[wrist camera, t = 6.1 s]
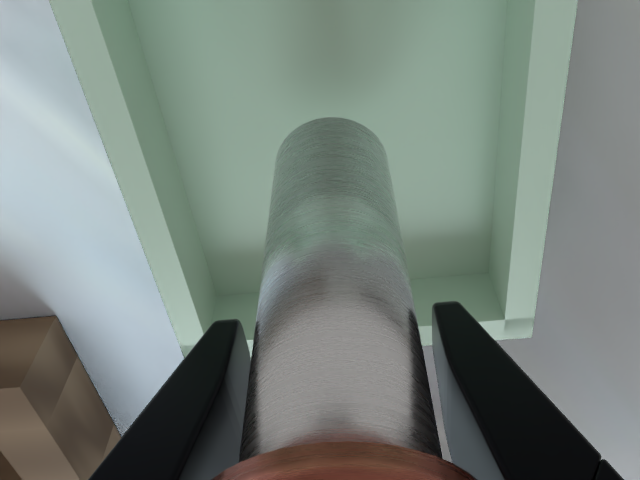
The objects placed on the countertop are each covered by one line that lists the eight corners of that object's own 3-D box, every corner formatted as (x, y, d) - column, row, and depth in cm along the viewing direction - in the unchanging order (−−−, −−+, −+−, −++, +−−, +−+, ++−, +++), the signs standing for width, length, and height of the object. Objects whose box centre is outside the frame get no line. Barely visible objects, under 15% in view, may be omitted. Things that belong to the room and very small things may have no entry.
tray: (508, 277, 19) (531, 337, 17) (201, 303, 20) (186, 364, 18) (553, -183, 12) (602, -178, 10) (65, -114, 12) (13, -94, 10)
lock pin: (412, 224, 15) (504, 662, 7) (267, 238, 15) (215, 674, 8) (407, 86, 12) (532, 509, 5) (239, 105, 13) (127, 533, 5)
